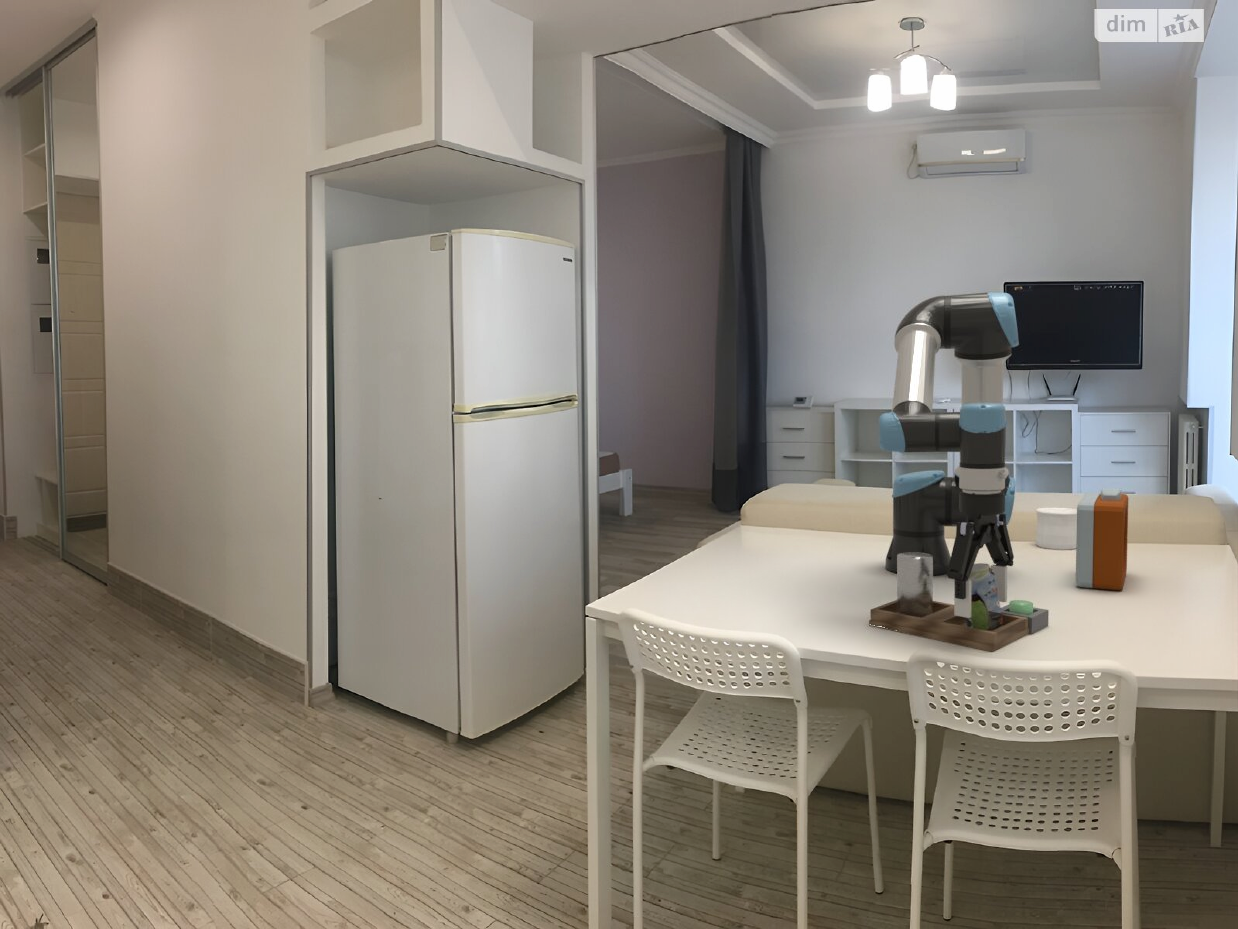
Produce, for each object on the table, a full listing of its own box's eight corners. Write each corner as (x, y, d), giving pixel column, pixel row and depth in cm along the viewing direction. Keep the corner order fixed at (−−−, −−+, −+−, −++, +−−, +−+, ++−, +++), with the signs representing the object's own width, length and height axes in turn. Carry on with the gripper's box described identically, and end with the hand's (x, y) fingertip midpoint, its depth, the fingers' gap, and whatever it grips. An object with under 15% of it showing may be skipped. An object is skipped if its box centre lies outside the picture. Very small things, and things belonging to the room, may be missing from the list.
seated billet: (890, 618, 170) (890, 556, 169) (908, 611, 175) (908, 550, 173) (921, 624, 166) (921, 560, 164) (939, 617, 170) (939, 555, 169)
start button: (1005, 626, 166) (1005, 603, 165) (1015, 622, 169) (1015, 599, 168) (1027, 631, 163) (1027, 606, 162) (1036, 626, 166) (1036, 602, 165)
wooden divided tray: (869, 625, 170) (869, 610, 169) (908, 610, 179) (908, 595, 179) (992, 651, 152) (993, 634, 152) (1029, 633, 161) (1029, 617, 161)
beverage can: (1006, 636, 157) (1006, 570, 155) (961, 636, 158) (961, 570, 156) (999, 625, 163) (999, 560, 161) (956, 624, 164) (956, 560, 163)
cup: (1085, 549, 229) (1086, 512, 228) (1046, 551, 229) (1046, 513, 228) (1067, 542, 238) (1068, 506, 237) (1029, 543, 238) (1030, 507, 237)
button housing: (993, 626, 166) (993, 611, 166) (1010, 618, 171) (1010, 603, 170) (1031, 634, 161) (1032, 617, 160) (1048, 625, 165) (1048, 609, 165)
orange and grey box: (1122, 592, 187) (1124, 495, 184) (1075, 588, 191) (1076, 493, 189) (1126, 574, 202) (1128, 483, 200) (1083, 570, 207) (1084, 482, 205)
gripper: (968, 501, 147) (967, 627, 149) (1034, 484, 163) (1032, 598, 166) (926, 497, 152) (926, 619, 155) (994, 481, 169) (993, 591, 171)
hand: (981, 608), depth 160 cm, fingers open, 13 cm apart
